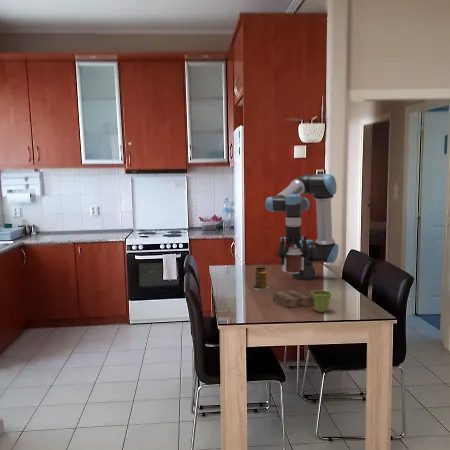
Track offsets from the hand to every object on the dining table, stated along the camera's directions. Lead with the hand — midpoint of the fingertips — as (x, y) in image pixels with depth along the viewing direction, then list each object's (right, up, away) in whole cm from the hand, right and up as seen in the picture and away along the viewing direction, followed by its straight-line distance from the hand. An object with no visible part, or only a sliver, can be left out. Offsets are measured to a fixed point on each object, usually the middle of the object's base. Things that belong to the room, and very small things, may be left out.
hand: (292, 270), depth 229 cm
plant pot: (+12, -18, -12) cm, 25 cm away
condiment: (-14, -13, +33) cm, 38 cm away
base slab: (0, -16, +2) cm, 16 cm away
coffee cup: (0, -1, 0) cm, 1 cm away
